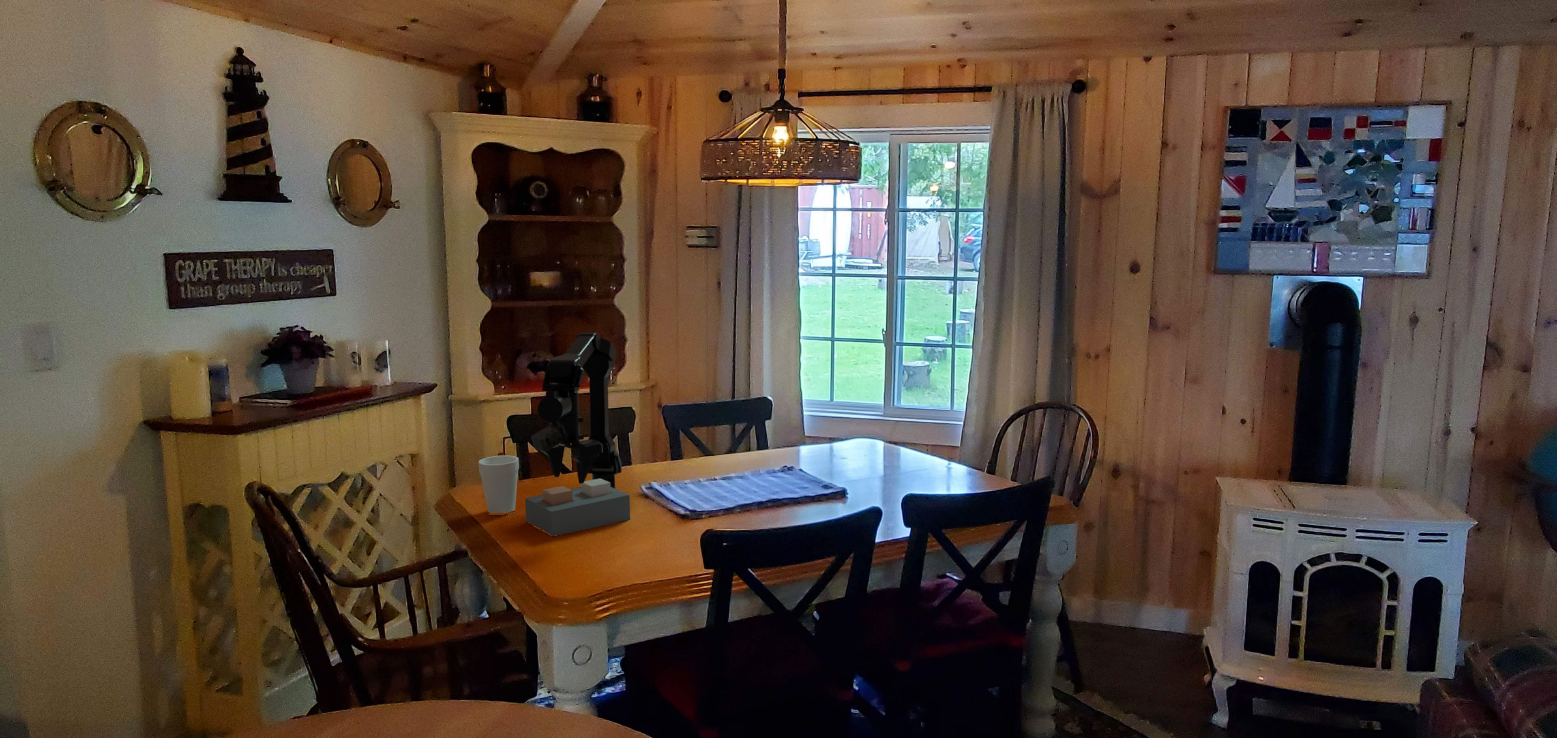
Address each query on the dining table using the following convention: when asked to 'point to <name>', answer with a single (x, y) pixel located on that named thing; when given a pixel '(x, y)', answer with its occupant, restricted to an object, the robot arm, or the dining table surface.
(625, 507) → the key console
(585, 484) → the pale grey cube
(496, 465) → the foam cup
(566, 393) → the robot arm
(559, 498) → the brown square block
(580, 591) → the dining table surface
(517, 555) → the dining table surface
